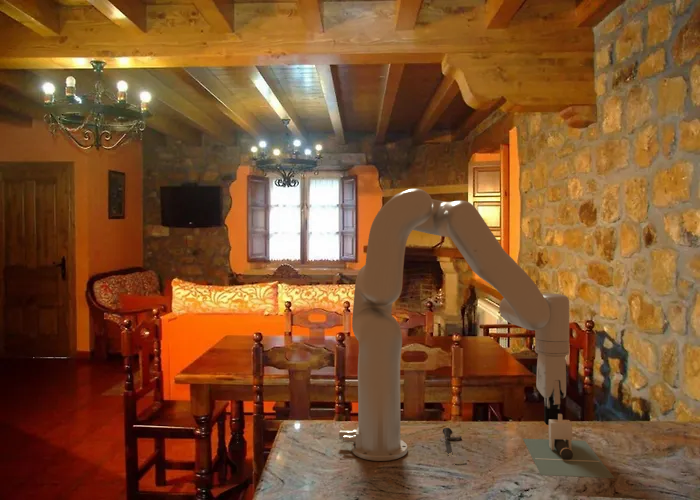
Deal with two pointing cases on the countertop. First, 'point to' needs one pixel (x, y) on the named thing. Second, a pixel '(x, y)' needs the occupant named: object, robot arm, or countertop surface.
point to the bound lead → (563, 449)
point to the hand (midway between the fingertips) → (551, 423)
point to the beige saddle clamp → (560, 431)
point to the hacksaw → (448, 445)
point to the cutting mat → (578, 466)
